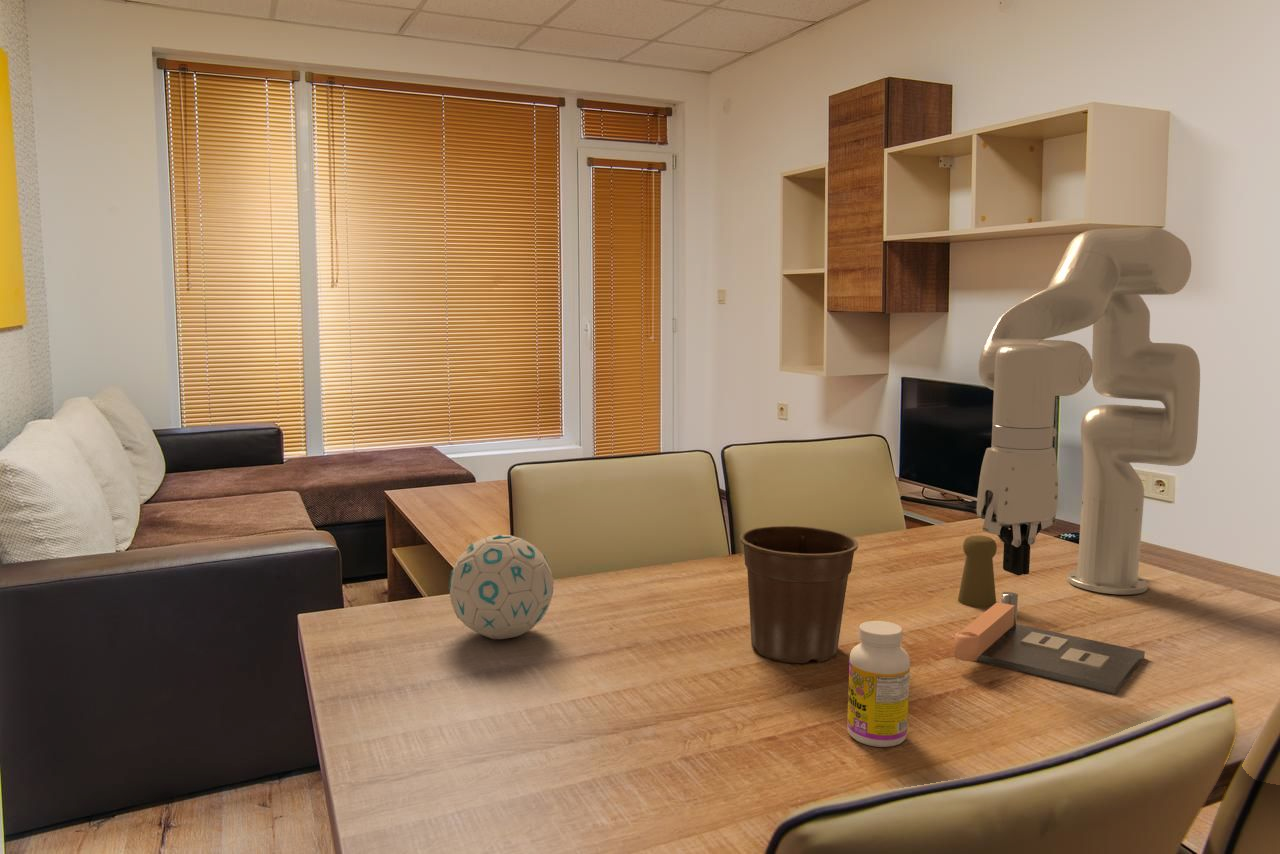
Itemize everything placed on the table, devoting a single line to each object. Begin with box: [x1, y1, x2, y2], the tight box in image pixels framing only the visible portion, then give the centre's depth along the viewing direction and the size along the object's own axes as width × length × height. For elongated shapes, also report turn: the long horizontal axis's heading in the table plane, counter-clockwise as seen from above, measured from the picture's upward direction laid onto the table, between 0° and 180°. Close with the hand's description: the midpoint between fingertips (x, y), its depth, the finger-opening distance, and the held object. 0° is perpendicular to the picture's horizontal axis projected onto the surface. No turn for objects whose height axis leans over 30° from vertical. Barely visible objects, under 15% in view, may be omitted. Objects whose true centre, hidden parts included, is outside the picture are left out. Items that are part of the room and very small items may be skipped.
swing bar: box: [953, 601, 1015, 662], centre depth 132 cm, size 18×3×3 cm, turn 142°
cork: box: [957, 534, 998, 609], centre depth 156 cm, size 6×6×11 cm
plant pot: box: [739, 525, 859, 664], centre depth 134 cm, size 16×16×16 cm
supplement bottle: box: [846, 620, 911, 748], centre depth 107 cm, size 7×7×13 cm
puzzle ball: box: [448, 534, 554, 640], centre depth 139 cm, size 15×15×15 cm
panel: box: [975, 591, 1146, 695], centre depth 131 cm, size 16×20×6 cm
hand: (1015, 571), depth 128 cm, fingers closed
